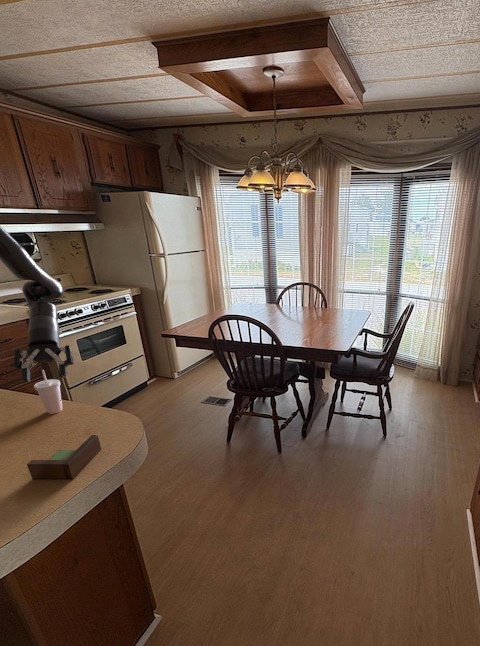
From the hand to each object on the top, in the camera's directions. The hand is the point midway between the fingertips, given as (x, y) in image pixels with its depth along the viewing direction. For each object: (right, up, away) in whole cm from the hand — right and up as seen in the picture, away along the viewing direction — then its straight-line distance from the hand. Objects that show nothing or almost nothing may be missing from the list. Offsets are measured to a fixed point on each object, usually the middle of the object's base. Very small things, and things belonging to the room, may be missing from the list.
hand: (45, 379), depth 104 cm
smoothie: (-1, -10, +5) cm, 11 cm away
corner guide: (+21, -21, -19) cm, 35 cm away
